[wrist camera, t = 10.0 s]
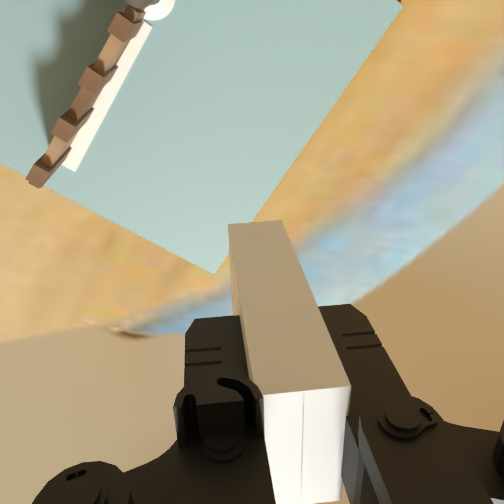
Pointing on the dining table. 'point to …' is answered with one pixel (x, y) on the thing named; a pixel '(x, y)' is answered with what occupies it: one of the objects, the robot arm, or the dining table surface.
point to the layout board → (180, 104)
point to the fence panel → (87, 94)
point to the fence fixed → (141, 3)
